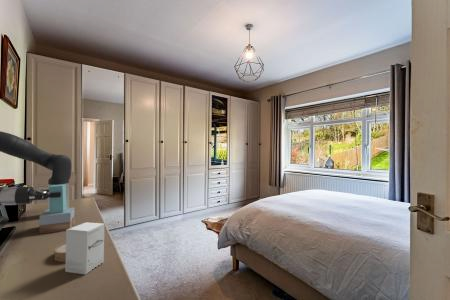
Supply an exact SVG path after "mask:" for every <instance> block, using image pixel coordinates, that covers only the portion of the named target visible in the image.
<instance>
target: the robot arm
mask: <svg viewBox="0 0 450 300" xmlns="http://www.w3.org/2000/svg"><path fill="white" fill-rule="evenodd" d="M0 152H1V153H4V154H6V155H9V156H12V157H15V158H18V159H21V160H25V161H28V162H32V163H35V164H37V165H39V166H41V167H43V168H46V169H47V170H50V171H51V172H52V173H51V177H50V178H49V179H48V181H47V186H48V187H47V189H46V188H45V189H43V188H42V189H37V190H35V189H34V187H33V186H11V187H2V188H0V206H16V205H18V206H19V205H29V204H32V202H33V201H45V200H47V210H50V205H49V198H57V197H61V192H54V193H49V187H50V186H52V185H62V184H66V208H70V206H69V205H70V202H69V201H70V199H69V198H70V179H71V174H72V160H71V158H70V156H67V155H66V154H56V153H55V154H54V153H51V152H48V151H45V150H42V149H40V148H39V147H37V146H36V145H35V144H33V142H32V143H31V142H30V141H29V140H27V139H24V138H22V137H20V136H18V135H15V134H12V133H9V132H5V131H0Z"/></svg>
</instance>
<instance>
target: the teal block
mask: <svg viewBox="0 0 450 300" xmlns="http://www.w3.org/2000/svg"><path fill="white" fill-rule="evenodd" d="M54 192H61V197H57V198H49V205H50V214H52V213H60V212H64V211H65V210H66V184H62V185H52V186H50V187H49V193H54Z"/></svg>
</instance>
